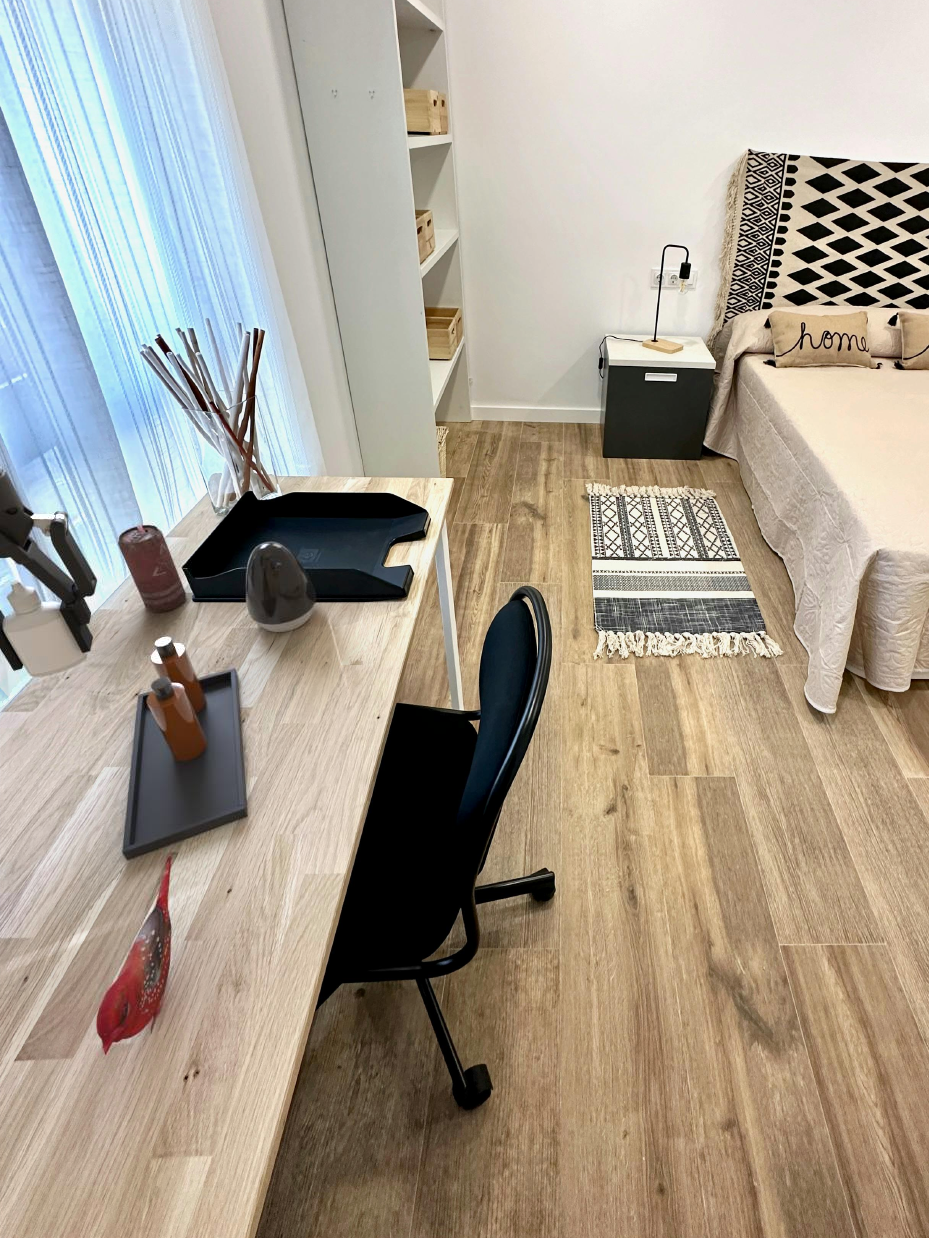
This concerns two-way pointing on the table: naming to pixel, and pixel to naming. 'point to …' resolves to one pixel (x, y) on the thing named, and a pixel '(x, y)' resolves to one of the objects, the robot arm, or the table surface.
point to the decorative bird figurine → (140, 977)
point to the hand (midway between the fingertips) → (54, 653)
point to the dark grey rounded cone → (278, 588)
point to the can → (152, 568)
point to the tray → (186, 774)
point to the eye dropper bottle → (40, 633)
